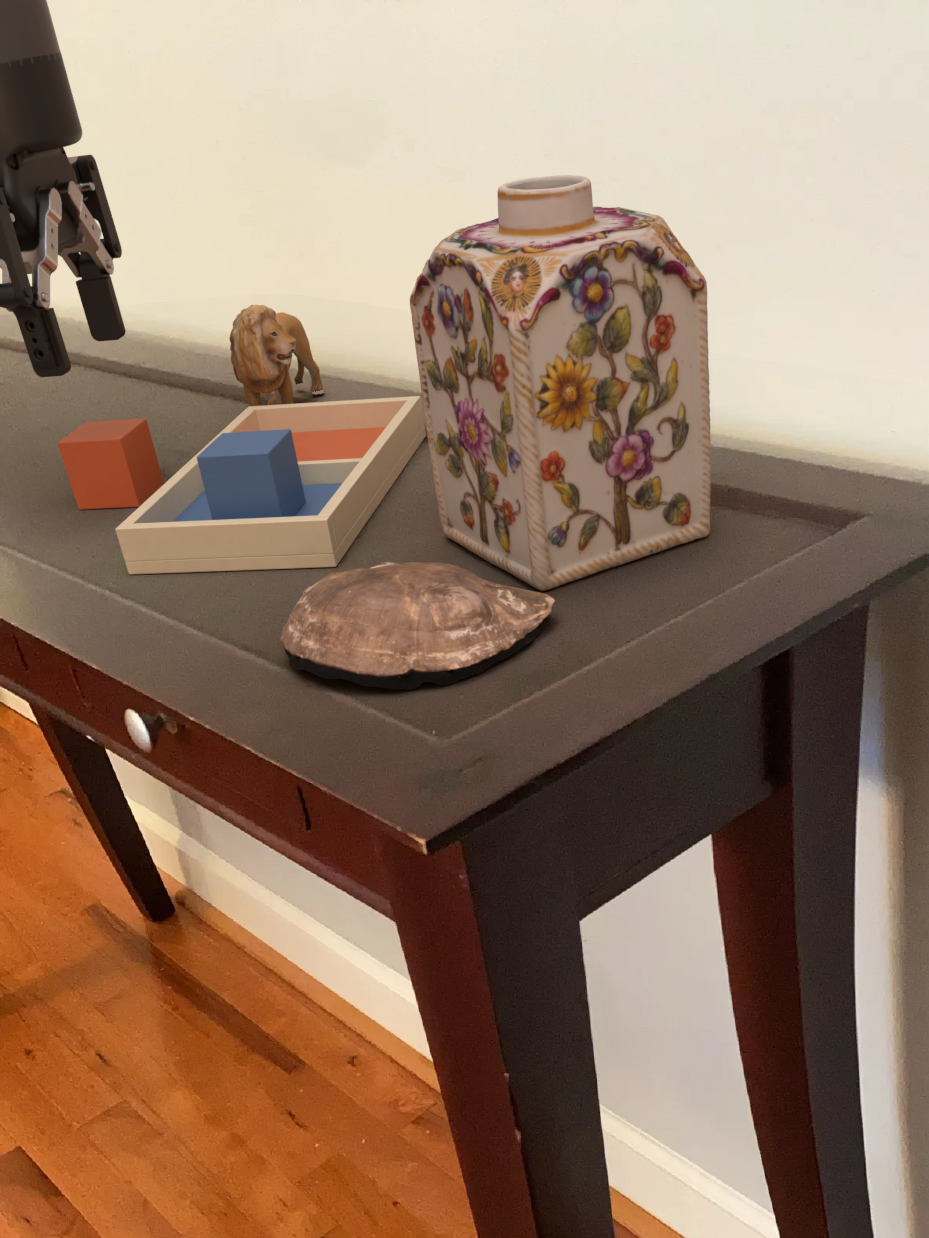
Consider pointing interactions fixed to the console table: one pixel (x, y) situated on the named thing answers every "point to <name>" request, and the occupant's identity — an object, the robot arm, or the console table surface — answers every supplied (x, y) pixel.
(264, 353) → the lion figurine
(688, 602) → the console table surface
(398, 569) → the shell
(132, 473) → the terracotta block
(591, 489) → the decorative jar
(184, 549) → the sorting tray
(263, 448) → the blue block
